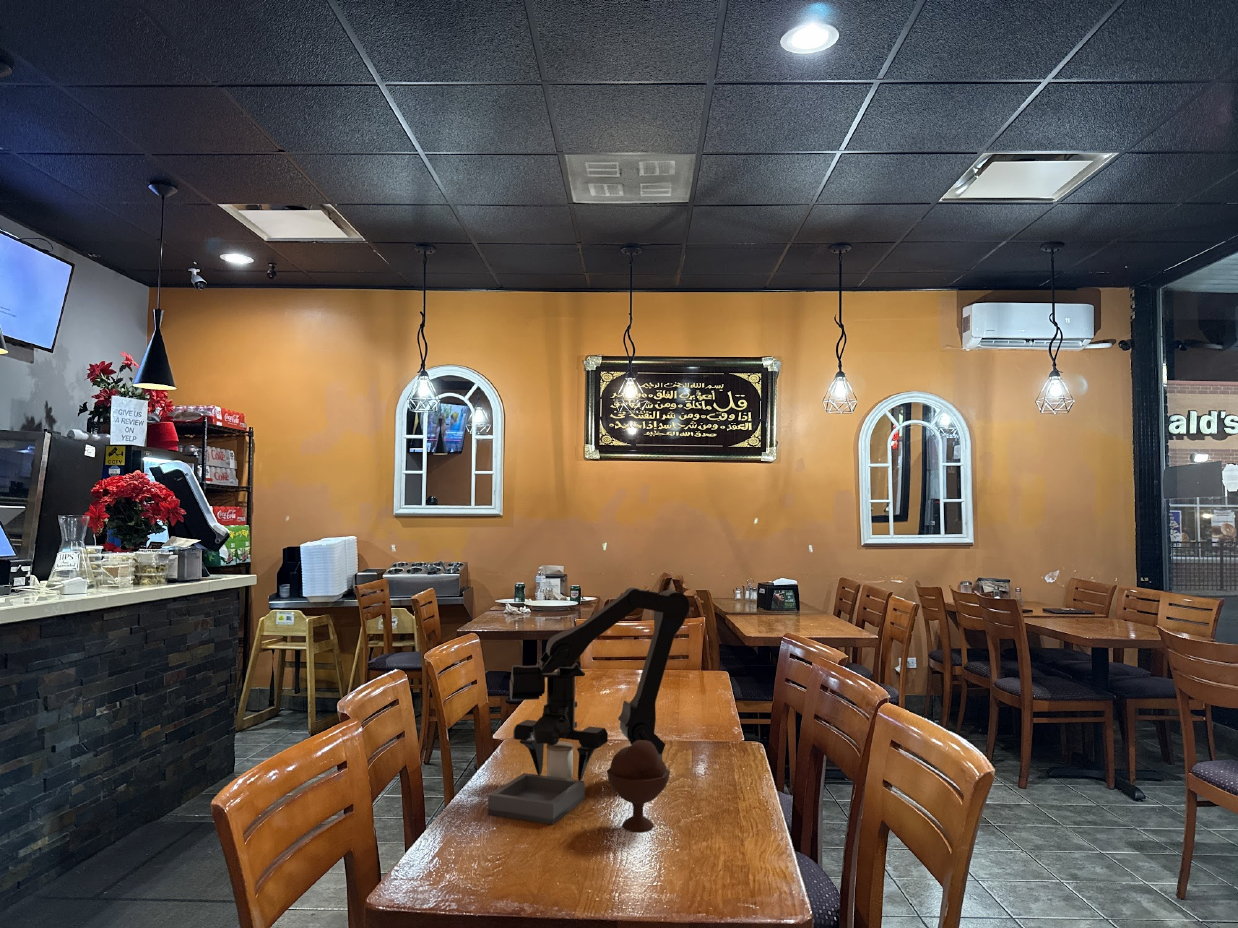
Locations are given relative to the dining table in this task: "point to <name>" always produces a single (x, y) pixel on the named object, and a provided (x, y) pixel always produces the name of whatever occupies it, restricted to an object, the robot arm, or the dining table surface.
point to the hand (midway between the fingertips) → (559, 776)
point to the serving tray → (536, 798)
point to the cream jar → (560, 760)
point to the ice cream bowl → (638, 780)
